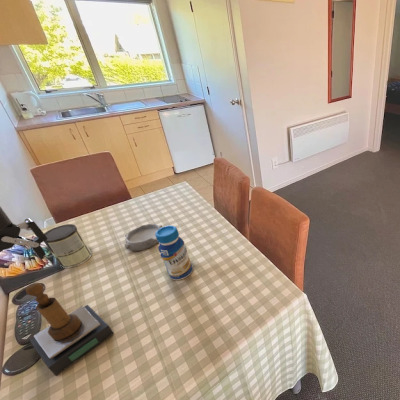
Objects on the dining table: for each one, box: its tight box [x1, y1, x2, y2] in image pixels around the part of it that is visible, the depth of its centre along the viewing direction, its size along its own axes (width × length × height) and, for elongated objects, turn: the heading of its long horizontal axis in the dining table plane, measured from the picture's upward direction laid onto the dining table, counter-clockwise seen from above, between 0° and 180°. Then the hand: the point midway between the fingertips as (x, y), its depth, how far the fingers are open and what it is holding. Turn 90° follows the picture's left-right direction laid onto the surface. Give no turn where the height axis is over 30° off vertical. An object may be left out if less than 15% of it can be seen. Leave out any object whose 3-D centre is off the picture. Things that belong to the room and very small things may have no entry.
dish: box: [124, 223, 163, 252], centre depth 117 cm, size 14×14×5 cm
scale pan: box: [33, 305, 101, 359], centre depth 76 cm, size 12×12×1 cm
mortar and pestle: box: [25, 282, 81, 340], centre depth 71 cm, size 7×6×18 cm
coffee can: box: [43, 223, 93, 269], centre depth 105 cm, size 10×10×14 cm
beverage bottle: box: [155, 225, 194, 281], centre depth 97 cm, size 8×8×20 cm
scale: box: [29, 304, 115, 377], centre depth 77 cm, size 14×14×5 cm
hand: (18, 268), depth 64 cm, fingers open, 8 cm apart
